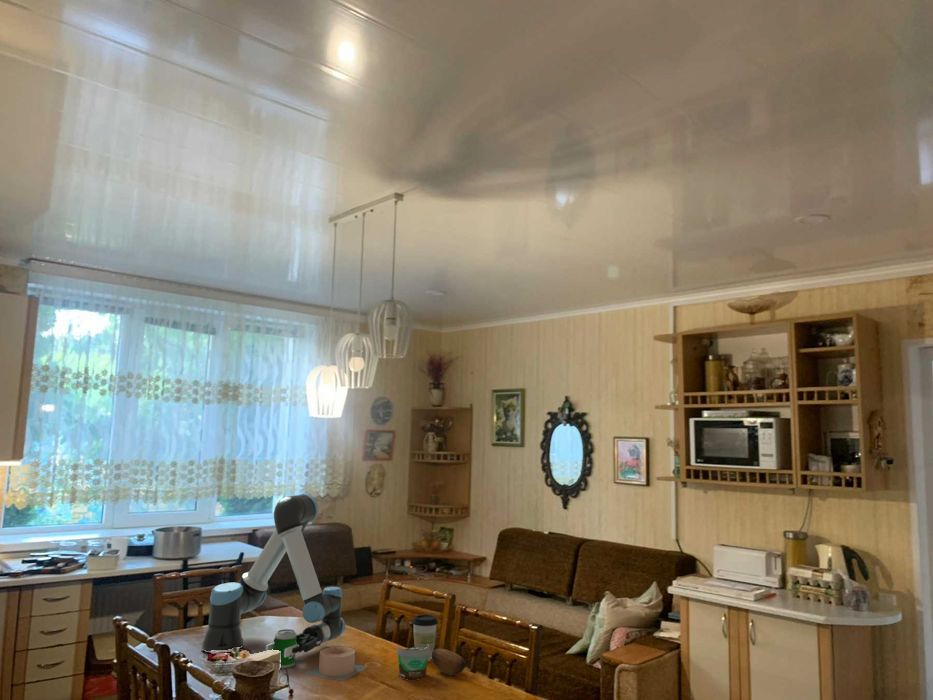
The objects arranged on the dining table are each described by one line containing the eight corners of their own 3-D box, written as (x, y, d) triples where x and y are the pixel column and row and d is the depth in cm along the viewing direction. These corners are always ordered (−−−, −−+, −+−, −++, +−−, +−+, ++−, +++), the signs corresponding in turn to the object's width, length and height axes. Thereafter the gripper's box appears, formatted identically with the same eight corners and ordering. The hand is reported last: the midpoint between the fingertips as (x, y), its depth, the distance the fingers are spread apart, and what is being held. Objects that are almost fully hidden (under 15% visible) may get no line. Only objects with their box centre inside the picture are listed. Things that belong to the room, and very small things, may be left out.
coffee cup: (433, 664, 240) (434, 621, 242) (407, 662, 241) (409, 619, 244) (439, 656, 249) (440, 615, 251) (415, 654, 251) (416, 613, 253)
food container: (402, 683, 219) (403, 652, 220) (395, 678, 224) (396, 647, 226) (435, 678, 224) (436, 648, 226) (428, 673, 230) (428, 643, 231)
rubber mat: (303, 676, 224) (303, 673, 224) (330, 663, 238) (331, 660, 238) (342, 684, 217) (342, 680, 218) (368, 669, 232) (368, 666, 232)
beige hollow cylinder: (312, 672, 225) (313, 654, 226) (332, 662, 236) (333, 645, 237) (341, 678, 220) (342, 659, 221) (360, 667, 231) (361, 649, 232)
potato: (462, 684, 229) (458, 677, 223) (429, 669, 234) (424, 661, 228) (471, 663, 233) (467, 655, 227) (438, 648, 238) (433, 641, 233)
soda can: (282, 672, 226) (285, 635, 228) (268, 667, 230) (270, 631, 232) (299, 666, 232) (301, 631, 234) (284, 662, 236) (286, 627, 238)
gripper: (337, 649, 244) (298, 667, 223) (293, 641, 252) (252, 658, 231) (338, 628, 245) (300, 644, 224) (294, 621, 253) (253, 635, 232)
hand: (275, 651), depth 228 cm, fingers closed on soda can, 7 cm apart
